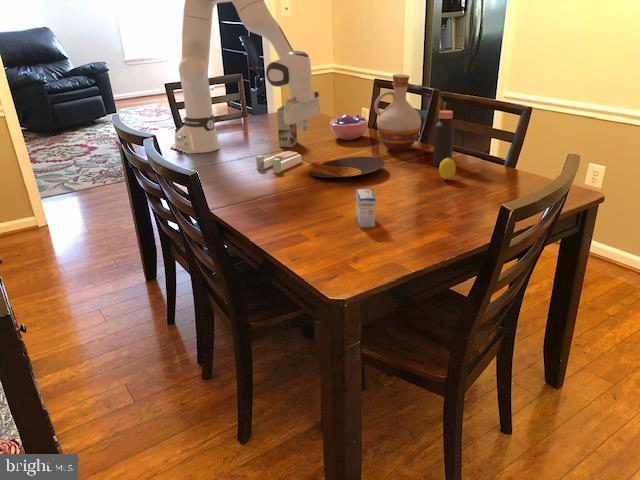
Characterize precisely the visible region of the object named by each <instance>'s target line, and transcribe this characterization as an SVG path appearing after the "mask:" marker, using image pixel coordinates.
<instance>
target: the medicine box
mask: <svg viewBox="0 0 640 480" xmlns="http://www.w3.org/2000/svg"><path fill="white" fill-rule="evenodd" d="M376 203H377V202H376V197H375V195H374V194H373V190H372V189H371V188H360V189H356V191H355V218H356V221H357V224H358V226H359V228H375V226H376Z"/></svg>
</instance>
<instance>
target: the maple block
mask: <svg viewBox="0 0 640 480" xmlns="http://www.w3.org/2000/svg"><path fill="white" fill-rule="evenodd" d="M298 154H299V153H298V152H296V151H293V150H292V151H291V150H287V151H283V152H280V153H276V154H274V155H273V156H274V159H275V158H278V159H281V161H284V160H286V159H289V158H291V157H294V156H296V155H298Z"/></svg>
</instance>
